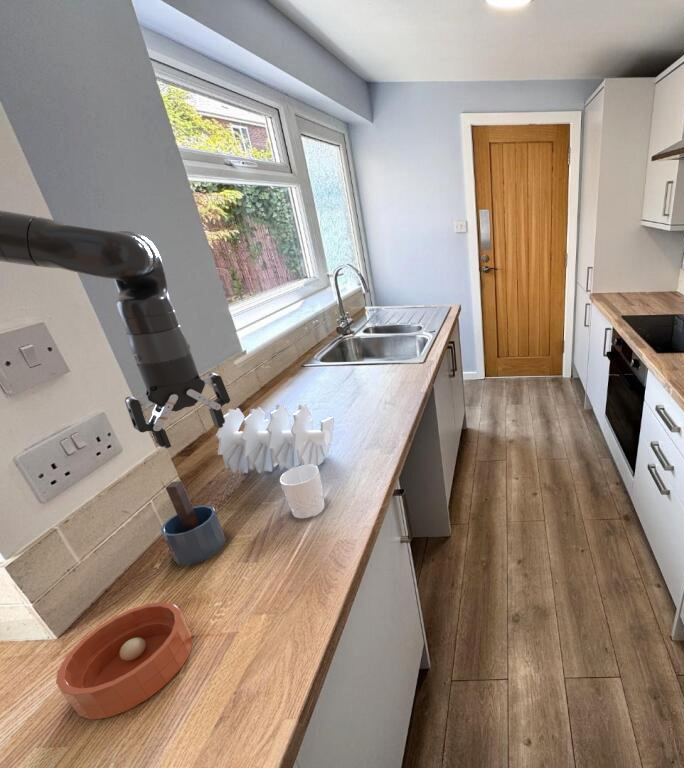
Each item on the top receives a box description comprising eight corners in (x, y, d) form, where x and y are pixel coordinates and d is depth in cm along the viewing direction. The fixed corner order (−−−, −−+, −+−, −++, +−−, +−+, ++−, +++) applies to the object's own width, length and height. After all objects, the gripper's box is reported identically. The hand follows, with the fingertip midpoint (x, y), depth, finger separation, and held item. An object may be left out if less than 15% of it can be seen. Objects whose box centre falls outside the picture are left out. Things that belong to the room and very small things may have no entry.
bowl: (47, 728, 54) (25, 700, 52) (125, 632, 67) (110, 607, 65) (154, 714, 56) (137, 687, 53) (212, 623, 68) (200, 598, 66)
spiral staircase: (328, 484, 110) (231, 486, 108) (342, 430, 121) (255, 432, 119) (306, 447, 96) (195, 449, 94) (325, 391, 108) (226, 392, 106)
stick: (193, 551, 82) (165, 487, 76) (198, 545, 84) (171, 481, 78) (202, 551, 82) (175, 486, 76) (208, 544, 84) (181, 481, 78)
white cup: (327, 516, 92) (317, 479, 88) (288, 525, 89) (277, 488, 85) (327, 495, 99) (319, 461, 95) (292, 504, 96) (281, 469, 92)
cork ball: (118, 666, 61) (110, 653, 60) (133, 646, 64) (126, 634, 63) (139, 664, 62) (132, 650, 60) (153, 644, 64) (146, 632, 63)
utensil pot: (165, 569, 79) (149, 537, 76) (192, 536, 87) (180, 507, 84) (211, 565, 80) (198, 533, 77) (234, 533, 88) (223, 503, 85)
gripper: (200, 341, 77) (225, 416, 83) (101, 363, 66) (139, 448, 72) (219, 346, 73) (244, 425, 79) (117, 371, 62) (155, 460, 68)
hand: (194, 436), depth 76 cm, fingers open, 8 cm apart
